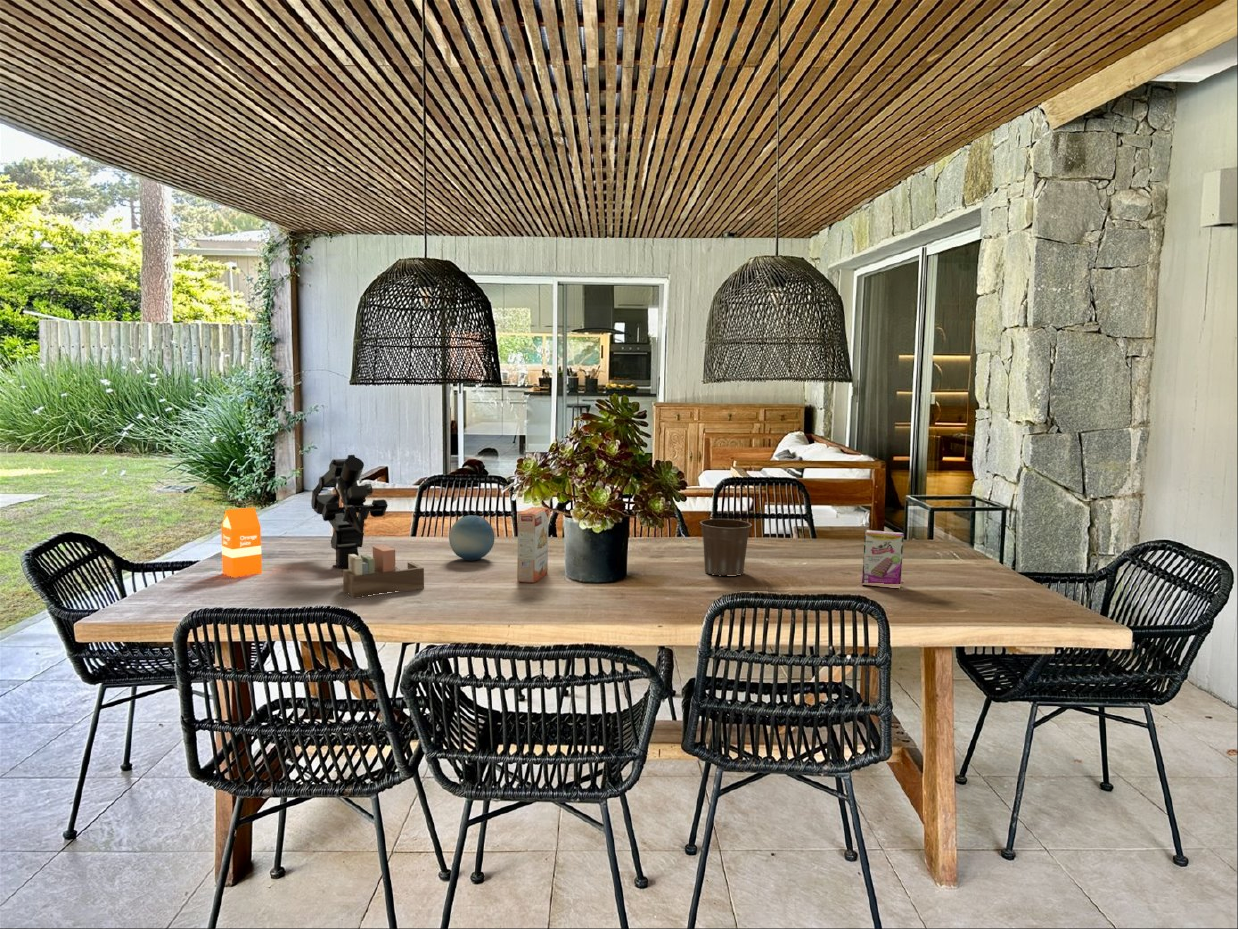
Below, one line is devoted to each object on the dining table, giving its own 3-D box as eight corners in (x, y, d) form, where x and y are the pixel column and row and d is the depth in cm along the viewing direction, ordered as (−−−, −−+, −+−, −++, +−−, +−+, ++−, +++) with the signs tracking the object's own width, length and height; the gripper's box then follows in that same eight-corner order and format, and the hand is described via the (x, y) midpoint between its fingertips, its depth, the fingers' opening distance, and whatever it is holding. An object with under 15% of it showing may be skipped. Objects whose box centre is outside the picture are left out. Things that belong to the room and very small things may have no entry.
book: (373, 587, 235) (372, 546, 234) (385, 585, 237) (384, 545, 236) (383, 593, 229) (383, 551, 228) (395, 591, 231) (395, 549, 230)
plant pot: (760, 573, 259) (762, 523, 258) (731, 581, 248) (732, 529, 246) (718, 565, 270) (720, 516, 269) (688, 572, 259) (689, 522, 257)
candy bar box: (861, 586, 244) (864, 532, 243) (862, 582, 249) (864, 529, 247) (901, 590, 241) (903, 535, 239) (901, 586, 245) (903, 532, 244)
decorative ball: (474, 566, 263) (474, 520, 262) (439, 561, 270) (439, 516, 269) (503, 558, 276) (503, 514, 274) (469, 553, 283) (469, 510, 282)
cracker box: (535, 583, 242) (536, 514, 240) (516, 582, 243) (516, 513, 241) (549, 573, 256) (549, 507, 254) (530, 572, 257) (531, 506, 255)
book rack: (342, 590, 231) (342, 553, 230) (410, 581, 243) (410, 546, 242) (354, 598, 223) (353, 560, 222) (424, 588, 234) (423, 552, 233)
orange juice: (222, 573, 249) (220, 508, 247) (251, 568, 256) (249, 505, 254) (232, 577, 244) (230, 511, 242) (262, 573, 250) (260, 508, 249)
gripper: (324, 476, 244) (335, 518, 236) (385, 473, 255) (398, 513, 247) (317, 499, 252) (328, 541, 244) (377, 495, 262) (389, 535, 254)
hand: (361, 532), depth 247 cm, fingers closed
